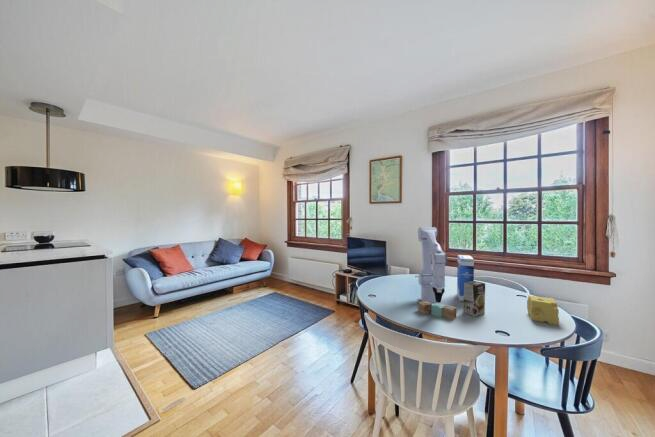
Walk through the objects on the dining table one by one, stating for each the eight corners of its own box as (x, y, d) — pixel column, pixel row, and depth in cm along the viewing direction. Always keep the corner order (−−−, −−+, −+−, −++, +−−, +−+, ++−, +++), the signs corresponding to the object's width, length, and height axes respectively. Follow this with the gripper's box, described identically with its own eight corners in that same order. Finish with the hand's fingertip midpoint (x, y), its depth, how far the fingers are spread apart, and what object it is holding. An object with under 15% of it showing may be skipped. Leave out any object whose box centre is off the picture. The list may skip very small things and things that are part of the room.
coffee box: (474, 317, 125) (475, 285, 124) (462, 312, 130) (463, 282, 130) (485, 313, 129) (486, 283, 128) (473, 309, 135) (473, 280, 134)
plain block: (435, 312, 131) (435, 302, 131) (445, 315, 127) (445, 305, 127) (431, 314, 128) (431, 305, 127) (441, 317, 124) (441, 308, 124)
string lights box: (473, 303, 144) (474, 259, 143) (458, 301, 146) (459, 258, 145) (469, 295, 156) (470, 255, 155) (456, 294, 159) (457, 254, 158)
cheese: (559, 325, 116) (559, 304, 115) (529, 320, 121) (530, 300, 121) (553, 317, 124) (554, 298, 124) (526, 312, 130) (527, 294, 130)
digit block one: (426, 310, 134) (426, 300, 133) (432, 313, 129) (432, 304, 129) (417, 310, 132) (418, 301, 132) (423, 314, 128) (423, 304, 127)
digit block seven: (446, 314, 128) (446, 304, 128) (456, 317, 125) (456, 307, 124) (442, 317, 125) (442, 307, 125) (452, 320, 121) (453, 310, 121)
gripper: (430, 272, 135) (429, 296, 136) (430, 278, 122) (430, 305, 122) (444, 273, 132) (443, 298, 133) (446, 280, 119) (445, 308, 119)
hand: (438, 302), depth 127 cm, fingers closed
